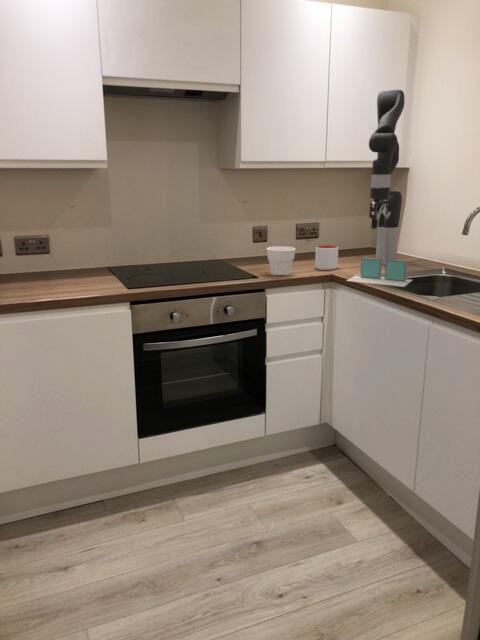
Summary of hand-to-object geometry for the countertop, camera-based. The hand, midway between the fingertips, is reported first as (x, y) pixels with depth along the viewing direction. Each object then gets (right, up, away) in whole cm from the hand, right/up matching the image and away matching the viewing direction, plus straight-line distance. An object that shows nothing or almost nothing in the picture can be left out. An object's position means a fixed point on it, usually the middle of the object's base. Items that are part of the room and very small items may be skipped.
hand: (378, 227), depth 210 cm
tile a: (-3, -21, +1) cm, 21 cm away
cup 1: (-39, -18, +12) cm, 45 cm away
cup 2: (-17, -15, +22) cm, 32 cm away
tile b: (+6, -22, -4) cm, 23 cm away
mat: (-1, -22, -4) cm, 23 cm away
